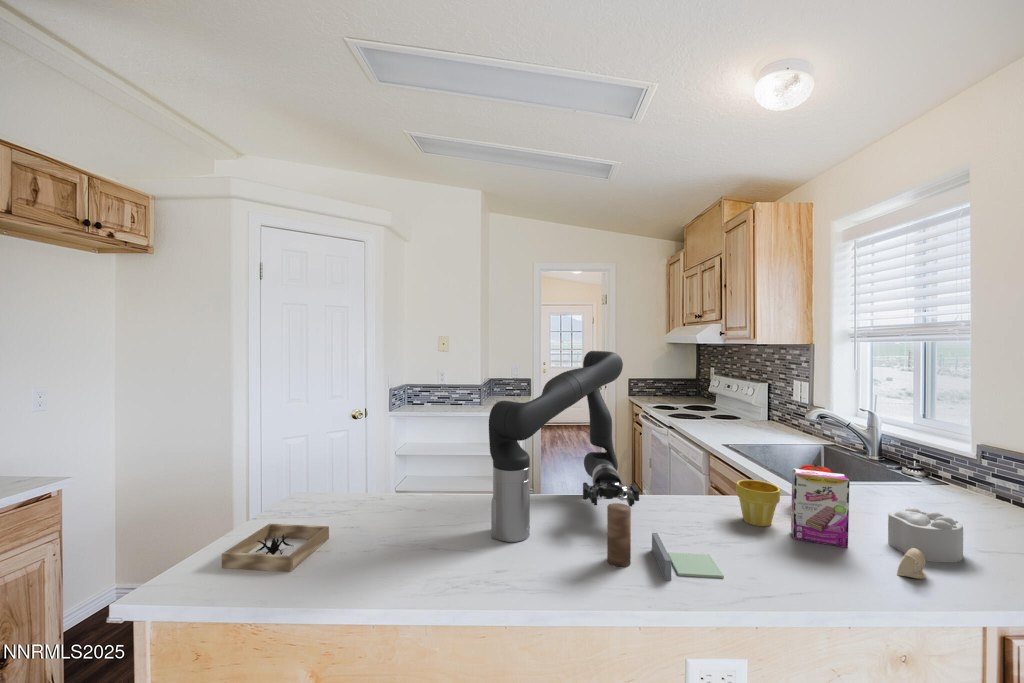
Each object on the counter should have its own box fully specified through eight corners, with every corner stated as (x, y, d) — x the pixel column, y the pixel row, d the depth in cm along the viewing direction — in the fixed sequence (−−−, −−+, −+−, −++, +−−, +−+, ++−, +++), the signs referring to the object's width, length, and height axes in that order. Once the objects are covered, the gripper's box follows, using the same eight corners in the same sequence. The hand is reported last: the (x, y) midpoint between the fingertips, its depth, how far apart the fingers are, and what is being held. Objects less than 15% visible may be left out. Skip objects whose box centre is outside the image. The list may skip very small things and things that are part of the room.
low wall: (665, 579, 90) (665, 560, 90) (651, 549, 103) (651, 532, 103) (671, 580, 90) (671, 560, 90) (657, 550, 103) (657, 532, 103)
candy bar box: (793, 540, 108) (793, 473, 108) (790, 532, 113) (790, 467, 113) (849, 549, 103) (850, 479, 103) (844, 540, 108) (844, 473, 108)
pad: (678, 575, 92) (678, 573, 92) (667, 554, 101) (667, 552, 101) (723, 578, 91) (723, 575, 91) (709, 556, 100) (709, 554, 100)
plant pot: (788, 529, 114) (789, 491, 114) (748, 529, 114) (749, 492, 114) (765, 514, 124) (765, 479, 124) (728, 514, 124) (729, 479, 124)
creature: (257, 554, 103) (251, 562, 96) (257, 529, 104) (252, 535, 97) (294, 548, 106) (292, 555, 99) (294, 524, 107) (292, 529, 100)
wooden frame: (221, 567, 95) (221, 553, 95) (269, 535, 110) (269, 523, 110) (290, 571, 93) (290, 557, 93) (328, 538, 109) (328, 526, 109)
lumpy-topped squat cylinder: (881, 540, 108) (881, 504, 108) (937, 541, 108) (937, 506, 108) (917, 561, 98) (917, 522, 98) (979, 563, 97) (980, 523, 97)
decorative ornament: (928, 572, 93) (929, 547, 93) (920, 585, 88) (920, 559, 88) (903, 564, 97) (903, 540, 97) (893, 577, 91) (893, 551, 91)
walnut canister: (608, 567, 95) (608, 511, 95) (606, 555, 100) (606, 502, 100) (632, 568, 95) (632, 512, 95) (628, 556, 100) (628, 503, 100)
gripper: (580, 466, 126) (584, 486, 110) (631, 467, 124) (642, 487, 108) (580, 493, 126) (584, 516, 110) (632, 494, 125) (643, 518, 108)
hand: (613, 502), depth 109 cm, fingers open, 8 cm apart
